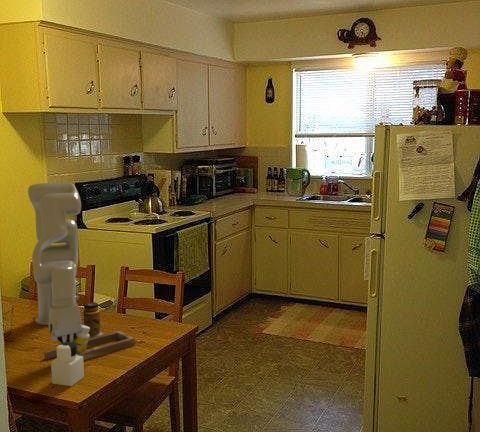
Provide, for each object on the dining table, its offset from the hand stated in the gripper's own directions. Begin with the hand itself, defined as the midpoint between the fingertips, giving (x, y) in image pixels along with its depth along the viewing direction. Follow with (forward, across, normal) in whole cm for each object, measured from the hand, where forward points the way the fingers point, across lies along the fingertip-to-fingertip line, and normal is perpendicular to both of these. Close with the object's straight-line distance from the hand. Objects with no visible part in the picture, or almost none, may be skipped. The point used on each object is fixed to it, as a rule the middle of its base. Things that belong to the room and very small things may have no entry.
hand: (67, 353), depth 189 cm
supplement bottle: (+1, -4, -1) cm, 4 cm away
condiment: (+2, -18, -17) cm, 25 cm away
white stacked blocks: (+3, +7, +15) cm, 17 cm away
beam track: (+2, -9, -2) cm, 10 cm away
